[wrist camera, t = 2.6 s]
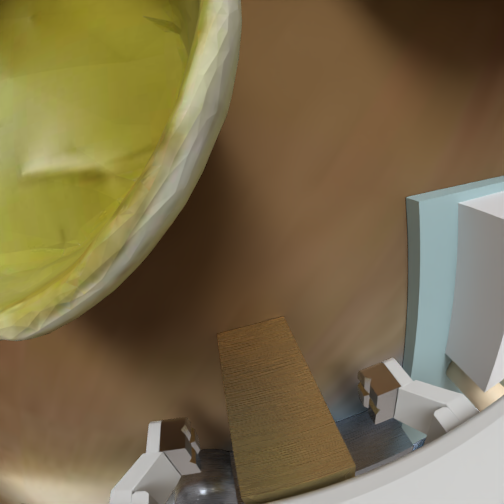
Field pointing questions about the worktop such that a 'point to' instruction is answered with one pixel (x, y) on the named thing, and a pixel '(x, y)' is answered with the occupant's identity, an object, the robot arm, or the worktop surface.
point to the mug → (100, 141)
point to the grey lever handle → (352, 431)
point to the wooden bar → (278, 416)
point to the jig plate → (432, 282)
